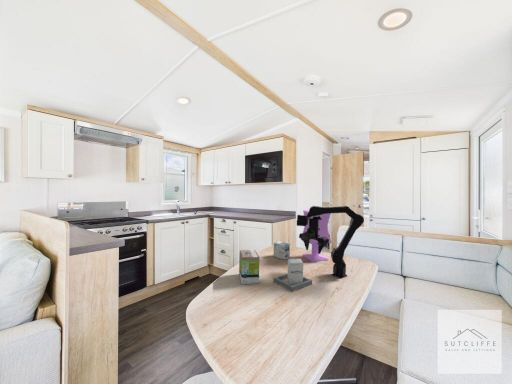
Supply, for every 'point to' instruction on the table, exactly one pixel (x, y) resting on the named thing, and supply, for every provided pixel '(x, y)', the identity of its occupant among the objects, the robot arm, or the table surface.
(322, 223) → the vase
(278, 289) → the table surface
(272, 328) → the table surface
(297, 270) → the supplement box
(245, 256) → the tea box
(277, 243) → the light bulb box
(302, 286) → the holder frame
